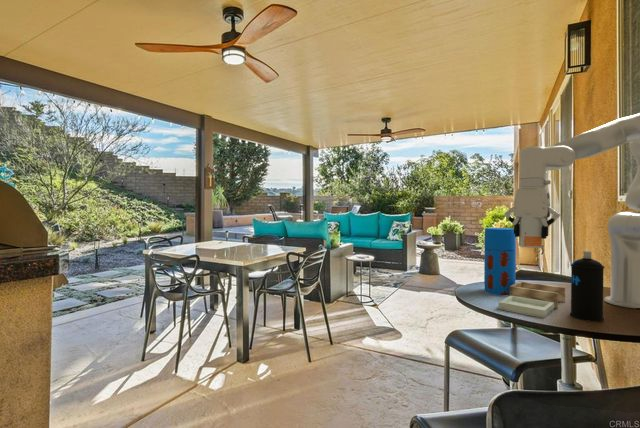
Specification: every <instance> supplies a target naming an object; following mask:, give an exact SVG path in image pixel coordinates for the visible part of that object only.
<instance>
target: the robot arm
mask: <svg viewBox="0 0 640 428" xmlns="http://www.w3.org/2000/svg"><path fill="white" fill-rule="evenodd" d="M628 143H629V144H628ZM625 144H628V145H629V146H628V147H629V149H628V150H629V151H630V153H631V154H632V157H633V158H634V159H635V162H636V165H637V169H636V170H637V171H636V173H635V176H634V178H633V180H632V182H631V184H630V187H629V189H628V190H627V193H626V195H625V200H624V201H625V205H626V206H627V207H628V208H629V209H631V210H635V211H621V212H617V213H615V214H613V215H612V216H611V217H610V218H609V220H608V221H607V231H608V235H609V239H610V295H609V296H605V297H604V301H605V302H606V303H608V304H609V305H613V306H618V307H623V308H630V309H636V308H640V112H639V113H636V114H632V115H629V116H624V117H621V118H618V119H615V120H613V121H610V122H607V123H606V124H603V125H600V126H598V127H595V128H593V129H591V130H588V131H584V132H582V133H580V134H577V135H575V136H572V137H570V138H567V139H565V140H562V141H559V142H556V143H554V144H551V145H549V146H545V147H544V146H539V145H537V146H535V145H534V146H527V147H523V148H521V150H520V151H519V167H518V168H519V169H518V171H519V175H518V188H516V190H515V196H514V200H513V207H511V208H510V209H508V210H507V211H506V212H504V216H505V217H506V218H507V219H508V221H509V222H510V223H511V224H512V225H513V229H514V234H515V237H516V238H519V224H520V218H522V213H523V211H526V212H530V213H531V216H532V217H533V218H540V220H541V221H542V223H543V226H542V232H541V238H542V240H545V239H547V237H549V230H550V229H549V228H550V226H551V225H552V224H553V223H555V221H557V219H559V218H560V217H561V214H560V213H559V212H558V211H557V210H555V209H554V208H552V207H551V197H550V189H549V187H548V188H547V186H548V185H551V184H552V183H551V180H549V179H547V178H546V177H547V172H548V171H555V170H556V171H557V170H562V169H566V168H568V167H571V165H573V164H574V163H575V161H577V160H581V159H587V158H591V157H594V156H597V155H600V154H603V153H606V152H608V151H610V150H612V149H615V148H618V147H620V146H622V145H625ZM512 214H513V216H512ZM551 214H552V217H551ZM514 217H515V218H514ZM550 217H551V218H550ZM548 218H549V219H548Z"/></svg>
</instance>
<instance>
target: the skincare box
mask: <svg viewBox="0 0 640 428" xmlns="http://www.w3.org/2000/svg"><path fill="white" fill-rule="evenodd" d="M542 226H543V223H542V221H541V220H540V218H533V217H532V216H531V213H530V212H526V211H523V213H522V218H520V223H519V237H518V247H521V248H530V249H543V239H542V238H541V232H542Z"/></svg>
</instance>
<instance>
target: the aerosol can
mask: <svg viewBox="0 0 640 428" xmlns="http://www.w3.org/2000/svg"><path fill="white" fill-rule="evenodd" d="M582 253H583V256H582V257H581V258H578V259H576V260H573V262H572V263H570V264H569V265H570V268H571V273H570V276H571V280H570V284H571V285H570V313H569V315H570V317H572V318H574V319H576V320H577V319H578V320H581V321H585V322H586V321H587V322H593V323H594V322H596V323H597V322H604V320H605V318H604V271H605V270H604V269H605V268H606V267H605V266H604V265H603V264H602V263H601V262H599V261H598V260H596V259H593V258H592V251H589V250H588V251H587V250H585V251H583V252H582Z"/></svg>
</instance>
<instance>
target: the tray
mask: <svg viewBox="0 0 640 428" xmlns="http://www.w3.org/2000/svg"><path fill="white" fill-rule="evenodd" d="M498 310H502V311H507V312H512V313H518V314H522V315H528V316H533V317H538V318H543V319H546V318H547V317H548V316H549V315H550V314H552V312H553V311H554V310H555V308H554V302H548V301H541V300H535V299H529V298H523V297H517V296H511V295H510V296H506V297H505V298H504V299H502V300H500V301H498Z"/></svg>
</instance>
